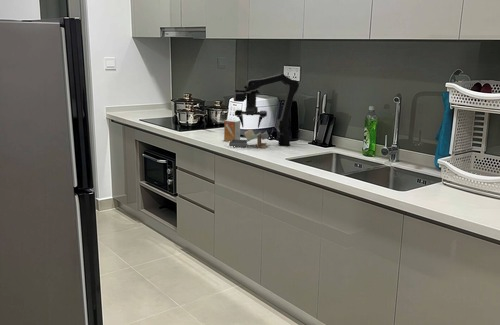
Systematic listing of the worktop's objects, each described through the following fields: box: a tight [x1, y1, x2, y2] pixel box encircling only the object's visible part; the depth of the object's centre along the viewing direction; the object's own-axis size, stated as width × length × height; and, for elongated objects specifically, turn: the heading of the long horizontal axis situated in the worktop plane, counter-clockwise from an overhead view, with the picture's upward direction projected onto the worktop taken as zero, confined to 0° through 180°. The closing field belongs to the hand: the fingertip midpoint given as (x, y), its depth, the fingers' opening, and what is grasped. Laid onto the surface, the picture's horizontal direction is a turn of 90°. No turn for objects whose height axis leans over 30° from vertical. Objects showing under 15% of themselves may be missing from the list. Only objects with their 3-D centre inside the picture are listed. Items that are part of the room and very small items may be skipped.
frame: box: [256, 131, 267, 149], centre depth 287 cm, size 5×13×8 cm, turn 175°
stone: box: [243, 128, 256, 140], centre depth 287 cm, size 5×5×4 cm
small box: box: [223, 119, 241, 142], centre depth 300 cm, size 8×6×13 cm
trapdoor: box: [246, 130, 269, 143], centre depth 287 cm, size 12×9×4 cm
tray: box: [228, 139, 248, 148], centre depth 288 cm, size 9×12×2 cm
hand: (250, 127), depth 286 cm, fingers open, 9 cm apart
